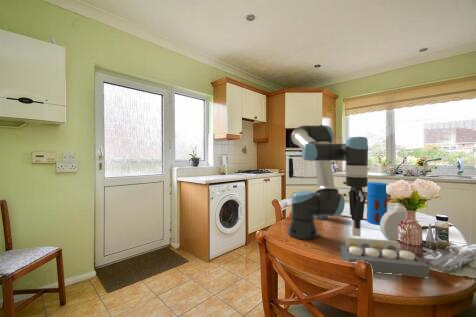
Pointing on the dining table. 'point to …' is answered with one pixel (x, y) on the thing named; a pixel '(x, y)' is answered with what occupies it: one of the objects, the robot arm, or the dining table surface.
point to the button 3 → (389, 254)
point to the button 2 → (371, 252)
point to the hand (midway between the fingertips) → (356, 235)
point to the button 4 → (406, 255)
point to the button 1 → (355, 251)
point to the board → (389, 263)
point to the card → (372, 243)
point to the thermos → (376, 202)
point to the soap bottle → (392, 222)
